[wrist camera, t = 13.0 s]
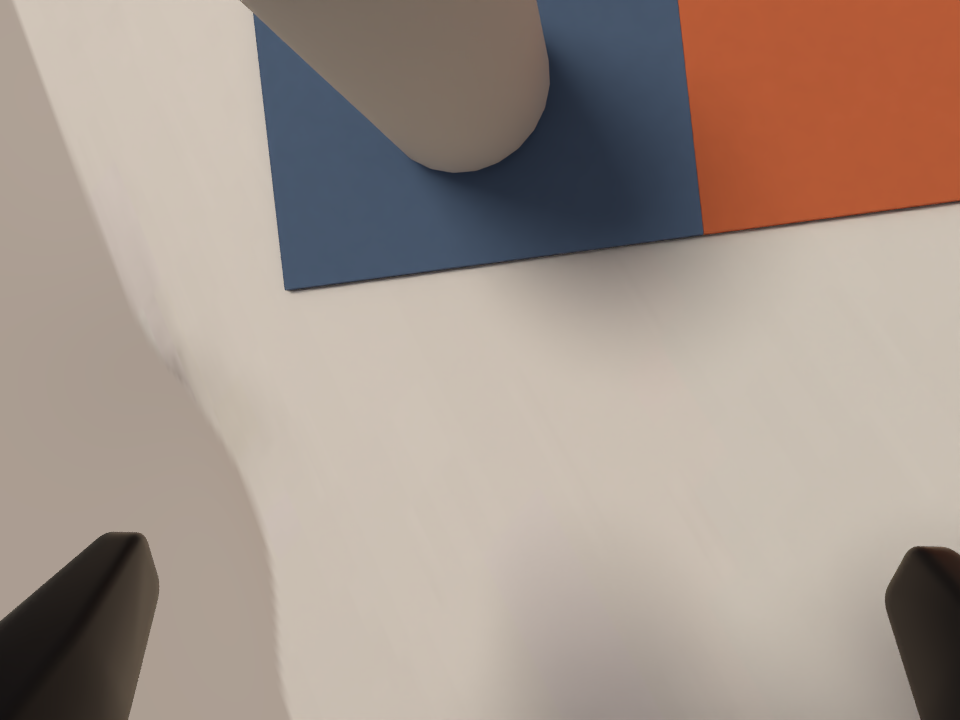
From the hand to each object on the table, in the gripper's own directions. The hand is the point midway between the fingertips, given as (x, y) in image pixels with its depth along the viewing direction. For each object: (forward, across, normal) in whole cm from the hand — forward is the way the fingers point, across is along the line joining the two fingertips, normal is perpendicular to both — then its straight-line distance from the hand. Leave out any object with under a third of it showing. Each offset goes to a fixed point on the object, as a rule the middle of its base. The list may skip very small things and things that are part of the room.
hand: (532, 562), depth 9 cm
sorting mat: (+15, -5, -3) cm, 16 cm away
